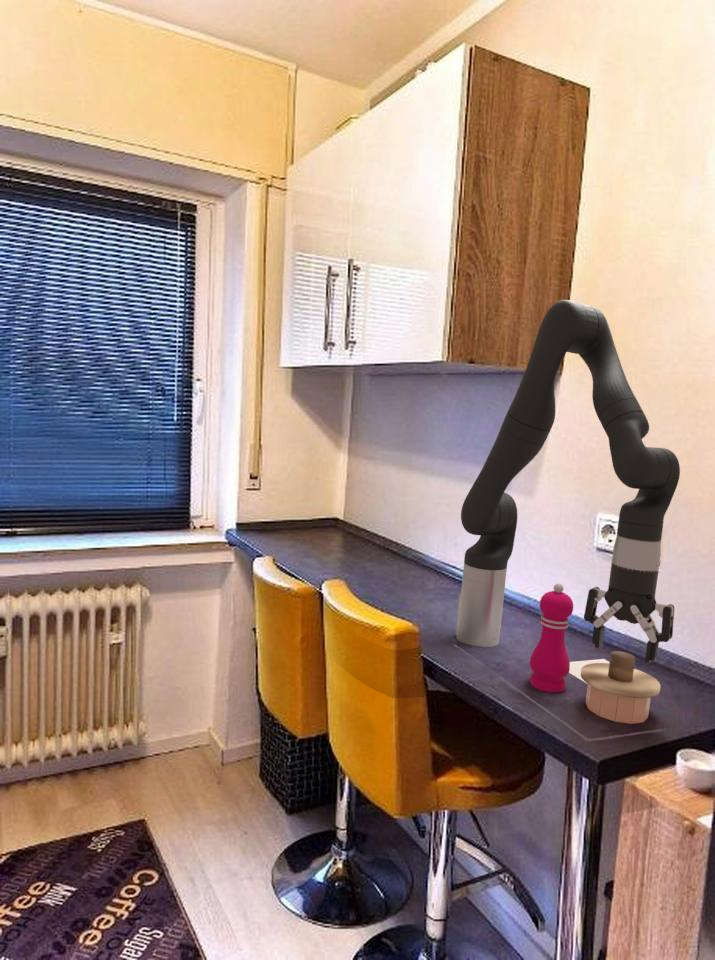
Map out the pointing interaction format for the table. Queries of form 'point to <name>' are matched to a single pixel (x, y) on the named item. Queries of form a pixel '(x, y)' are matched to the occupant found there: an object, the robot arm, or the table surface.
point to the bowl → (617, 706)
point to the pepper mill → (552, 642)
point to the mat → (577, 666)
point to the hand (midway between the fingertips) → (623, 654)
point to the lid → (620, 677)
